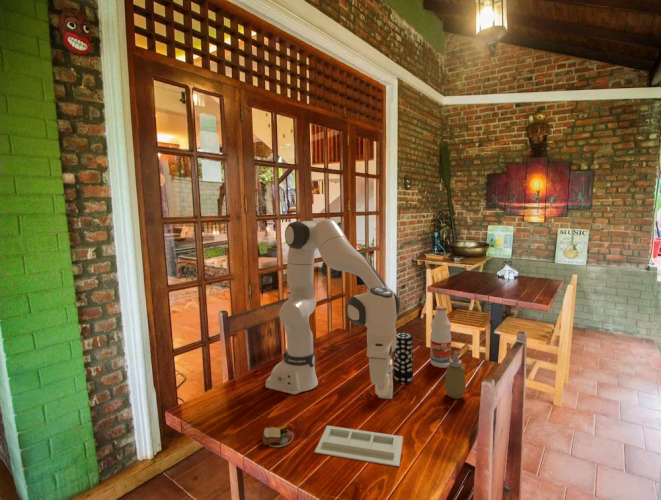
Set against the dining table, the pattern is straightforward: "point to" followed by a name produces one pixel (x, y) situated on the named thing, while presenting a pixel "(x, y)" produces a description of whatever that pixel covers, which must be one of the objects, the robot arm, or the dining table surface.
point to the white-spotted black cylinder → (403, 358)
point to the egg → (386, 387)
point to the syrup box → (390, 372)
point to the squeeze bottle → (455, 378)
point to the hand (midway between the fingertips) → (382, 384)
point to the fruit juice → (440, 339)
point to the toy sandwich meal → (277, 436)
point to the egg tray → (361, 445)
